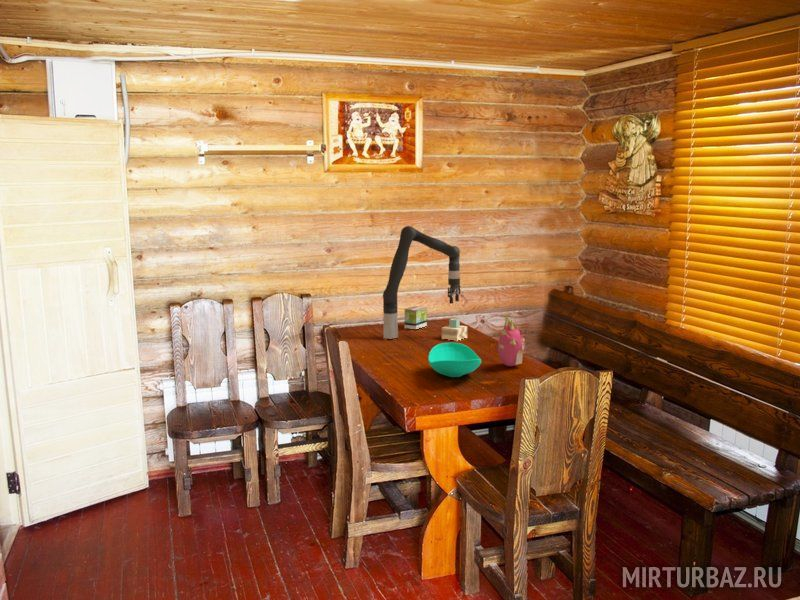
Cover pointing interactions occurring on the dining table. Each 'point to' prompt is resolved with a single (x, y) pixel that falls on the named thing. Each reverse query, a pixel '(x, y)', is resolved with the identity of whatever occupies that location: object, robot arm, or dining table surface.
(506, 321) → the pink dragon fruit
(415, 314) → the tea box
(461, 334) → the birch block
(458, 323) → the teal cube
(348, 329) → the dining table surface
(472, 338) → the dining table surface
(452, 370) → the table top decor
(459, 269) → the robot arm
